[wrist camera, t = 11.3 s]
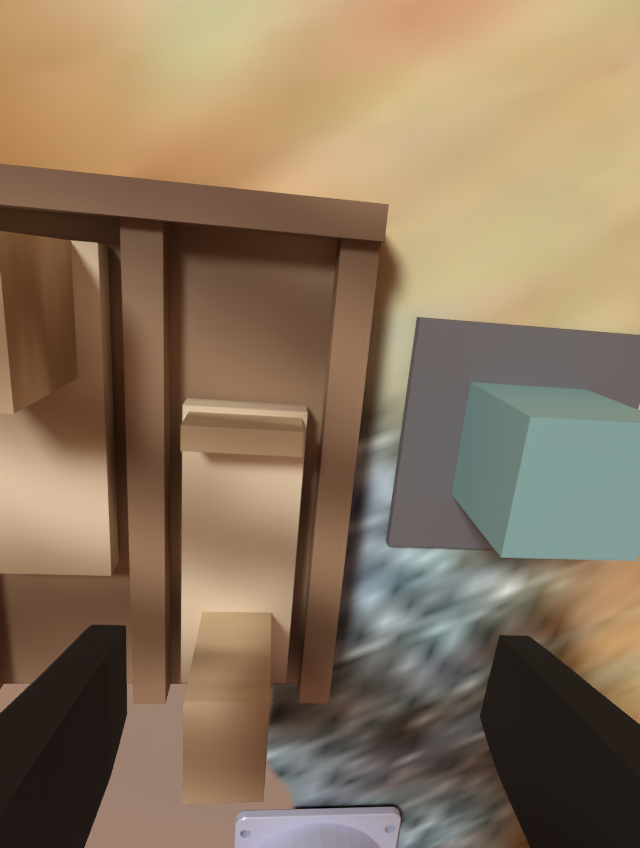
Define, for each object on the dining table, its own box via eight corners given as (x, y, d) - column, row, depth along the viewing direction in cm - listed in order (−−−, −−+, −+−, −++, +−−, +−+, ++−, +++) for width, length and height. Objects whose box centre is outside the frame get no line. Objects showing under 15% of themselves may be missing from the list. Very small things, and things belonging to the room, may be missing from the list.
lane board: (324, 665, 22) (330, 713, 20) (-15, 664, 21) (-53, 715, 18) (372, 213, 17) (388, 204, 14) (-81, 167, 15) (-146, 148, 13)
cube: (559, 498, 20) (636, 561, 16) (451, 494, 20) (501, 557, 15) (586, 389, 19) (677, 425, 15) (470, 382, 18) (530, 416, 14)
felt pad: (592, 547, 21) (598, 552, 21) (386, 540, 20) (388, 546, 20) (650, 336, 19) (657, 337, 18) (417, 317, 18) (420, 318, 18)
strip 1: (119, 561, 18) (66, 661, 14) (3, 558, 18) (-92, 660, 13) (107, 243, 15) (34, 233, 11) (-34, 231, 15) (-176, 214, 10)
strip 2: (283, 680, 21) (287, 800, 16) (184, 680, 20) (157, 804, 16) (306, 405, 17) (317, 455, 13) (187, 397, 17) (153, 447, 12)
